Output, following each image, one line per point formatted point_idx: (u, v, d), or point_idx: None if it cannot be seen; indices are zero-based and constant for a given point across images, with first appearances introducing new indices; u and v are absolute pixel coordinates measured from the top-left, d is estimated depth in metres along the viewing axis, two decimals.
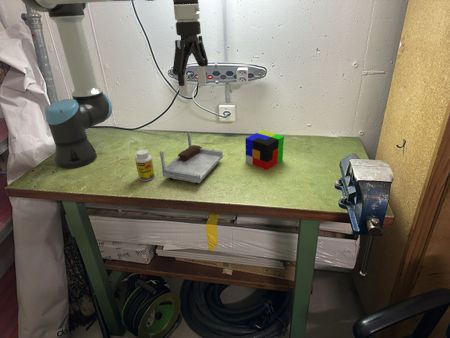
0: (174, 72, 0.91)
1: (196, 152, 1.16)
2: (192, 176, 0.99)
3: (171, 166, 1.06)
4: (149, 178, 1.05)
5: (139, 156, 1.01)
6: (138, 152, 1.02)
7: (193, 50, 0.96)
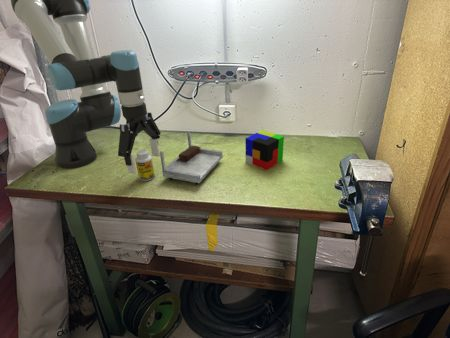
0: (119, 155, 0.93)
1: (196, 152, 1.15)
2: (192, 176, 0.99)
3: (171, 166, 1.06)
4: (149, 178, 1.05)
5: (139, 156, 1.01)
6: (138, 152, 1.02)
7: (141, 129, 0.98)
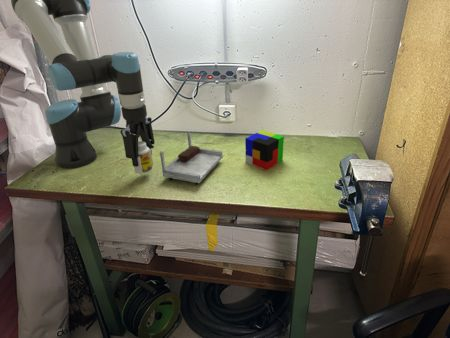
0: (127, 157, 0.98)
1: (195, 153, 1.15)
2: (192, 176, 0.99)
3: (171, 166, 1.06)
4: (147, 170, 1.04)
5: None
6: None
7: (140, 130, 0.99)
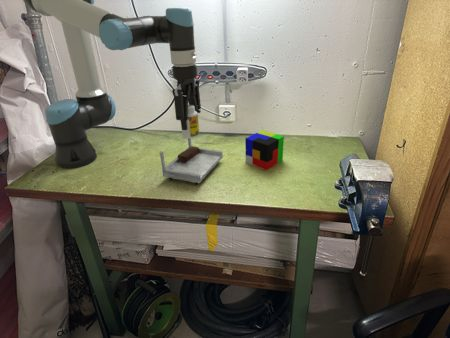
0: (177, 118, 0.95)
1: (195, 153, 1.15)
2: (192, 176, 0.99)
3: (171, 166, 1.06)
4: (194, 135, 1.01)
5: None
6: None
7: (190, 92, 0.96)
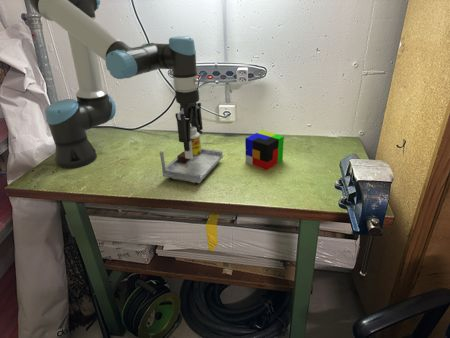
0: (180, 141, 0.99)
1: None
2: (192, 176, 0.99)
3: (171, 166, 1.06)
4: (197, 155, 1.05)
5: None
6: None
7: (192, 115, 1.00)
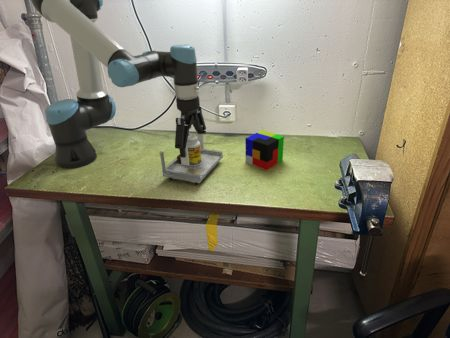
0: (176, 147, 0.97)
1: None
2: (192, 176, 0.99)
3: (171, 166, 1.06)
4: (197, 163, 1.07)
5: (189, 141, 1.03)
6: (188, 137, 1.04)
7: (192, 121, 1.01)
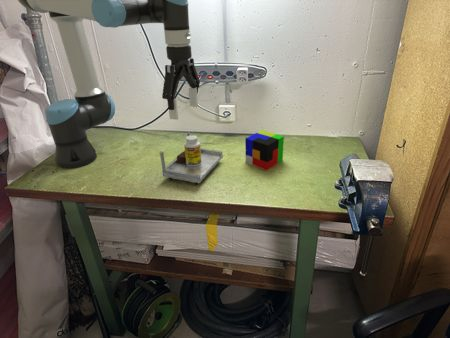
0: (164, 97, 0.90)
1: None
2: (192, 176, 0.99)
3: (171, 166, 1.06)
4: (197, 163, 1.07)
5: (189, 141, 1.03)
6: (188, 137, 1.04)
7: (184, 74, 0.96)
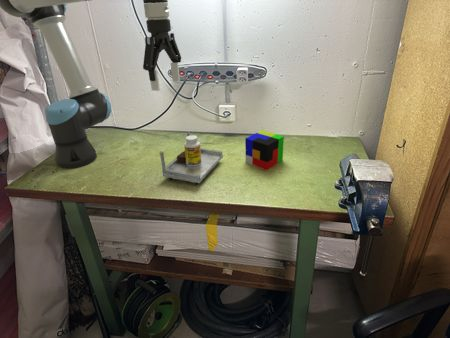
0: (144, 67, 0.95)
1: None
2: (192, 176, 0.99)
3: (171, 166, 1.06)
4: (197, 163, 1.07)
5: (189, 141, 1.03)
6: (187, 137, 1.04)
7: (164, 47, 1.00)
